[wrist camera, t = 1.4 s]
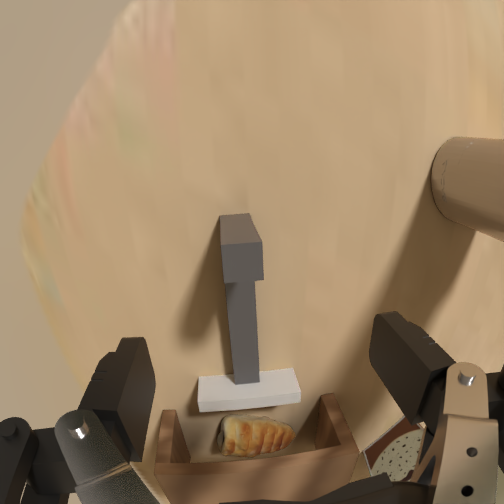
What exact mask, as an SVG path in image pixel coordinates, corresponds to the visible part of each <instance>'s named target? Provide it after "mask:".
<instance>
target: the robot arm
mask: <svg viewBox="0 0 504 504" xmlns="http://www.w3.org/2000/svg"><path fill="white" fill-rule="evenodd" d="M431 185H432V192H433V197H434V200H435V202H436V205H437V207H438V208H439V210H440V212H441V213H442V214H443V215H444V216H445V217H446V218H448V219H450V220H452V221H454V222H457V223H459V224H462V225H464V226H467V227H469V228H472V229H474V230H476V231H479V232H481V233H484V234H486V235H489V236H491V237H493V238H496V239H498V240H500V241H503V242H504V140H502V139H488V138H473V137H456V138H452V139H450V140H448V141H447V142H446V143H445V144H443V145H442V147H441V148H440V150H439V151H438V153H437V155H436V157H435V159H434V163H433V167H432V175H431ZM369 358H370V362H371V365H372V367H373V368H374V370H375V371H376V373H377V374H378V376H379V377H380V379H381V380H382V382H383V383H384V385H385V386H386V388H387V389H388V391H389V392H390V394H391V395H392V397H393V398H394V400H395V401H396V403H397V404H398V406H399V407H400V409H401V411H402V412H403V414H404V415H405V417H406V418H407V420H408V421H409V423H410V424H411V426H412V425H415V424H417V423H420V422H423V421H424V423H425V424H426V426H425V428H424V431H423V435H422V439H421V444H420V448H419V452H418V456H417V460H416V464H415V468H414V471H413V474H412V477H411V479H410V481H391V480H390V478H389V476H388V474H387V472H385V473H382V474H379V475H376V476H372V477H369V478H366V479H362V480H359V481H355V482H351V483H348V484H346V485H344V486H342V487H340V488H338V489H336V490H334V491H332V492H330V493H328V494H326V495H323V496H321V497H319V498H317V499H314V500H312V501H280V500H265V499H261V500H251V501H239V502H224V503H219V504H495V501H496V491H497V478H498V465H499V467H500V468H501V470H502V471H503V473H504V365H503V367H502V370H501V372H496V373H487V374H485V372H484V371H483V370H482V369H481V368H480V367H478V366H477V365H474V364H472V363H467V362H459V363H456V362H455V361H454V360H453V359H452V358H451V357H450V356H449V355H448V354H447V353H446V352H445V351H444V350H443V349H442V348H441V347H440V346H439V345H438V344H437V343H435V341H434V340H433V339H432V338H431V337H429V335H428V334H427V333H426V332H425V331H424V330H423V329H422V328H421V327H419V326H417V325H415V324H413V323H411V322H407V321H406V320H405V319H404V318H403V317H402V316H401V315H400V314H399V313H398V312H396V311H393V312H387V313H381V314H377V315H376V316H375V318H374V322H373V329H372V336H371V342H370V348H369ZM155 386H156V382H155V374H154V370H153V366H152V363H151V359H150V355H149V351H148V347H147V344H146V340H145V339H144V337H129V338H122V339H121V341H120V343H119V345H118V347H117V350H116V352H109V353H108V354H107V355H105V356H104V357H103V358H102V359H101V360H100V361H99V363H98V365H97V367H96V369H95V373H94V374H93V376H92V378H91V381H90V382H89V385H88V387H87V389H86V391H85V393H84V396H83V398H82V400H81V402H80V405H79V407H78V409H77V410H74V411H70V412H68V413H66V414H64V415H63V416H62V417H60V418H59V420H58V421H57V423H56V425H55V427H53V428H46V429H37V430H32V429H31V427H30V426H29V424H28V423H27V422H26V421H25V420H24V419H22V418H19V417H12V418H8V419H5V420H3V421H2V422H0V504H68V498H69V494H70V493H77V495H78V497H79V499H80V501H81V503H82V504H160V503H159V502H158V501H157V499H156V498H155V497H154V496H153V494H152V493H151V492H150V491H149V489H148V488H147V487H146V485H145V484H144V483H143V481H142V480H141V479H140V477H139V476H138V475H137V473H136V472H135V471H134V469H133V468H132V467H131V465H130V464H129V463H130V461H133V462H142V457H143V451H144V445H145V440H146V434H147V429H148V423H149V418H150V413H151V408H152V403H153V398H154V393H155ZM25 483H27V484H26V487H25V490H24V493H23V497H22V500H21V503H20V499H21V495H22V492H23V489H24V486H25Z"/></svg>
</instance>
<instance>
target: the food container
mask: <svg viewBox="0 0 504 504" xmlns="http://www.w3.org/2000/svg"><path fill="white" fill-rule="evenodd" d="M423 431H424V428H423V427H422V426H421V425H420V424H419V423H417V424H415V425H412V426H411V424H410V423H409V421H408V420H407V418H406V417H405V415H404V416H403V417H402V418H401V419H400V420H399V421H398V422H396V423H395V424H394V425H393V426H392V427H391V428H390V429H388V430H387V431H386V432H385V433H384V434H383V435H381V436H380V437H379V438H378V439H377V440H375V441H374V442H373V443H372V444H370V445H369V446H368V447H367V448H365V449H364V450H363V454H364V457H365V460H366V463H367V466H368V469H369V472H370V476H371V477H372V476H376V475H379V474H382V473H385V472H387V474H388V476H389V478H390V480H391V481H410V479H411V477H412V474H413V471H414V468H415V464H416V460H417V456H418V452H419V448H420V444H421V439H422V435H423Z"/></svg>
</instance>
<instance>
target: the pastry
mask: <svg viewBox="0 0 504 504" xmlns="http://www.w3.org/2000/svg"><path fill="white" fill-rule="evenodd" d="M295 436H296V434H295V432H294V431H293V430H292V428H291V427H290V426H289V425H287V424H285V423H281V422H277V421H275V420H272V419H270V418H268V417H265V416H263V417H259V416H250V415H242V414H230V415H226V416H225V418H224V419H223V420H222V422H221V432H220V434H219V435H218V439H217V444H218V446H219V450H220V452H221V454H223V455H224V456H227V455H233V456H239V457H254V456H256V455H260V454H264V453H273V452H275V451H278V450H281V449H284V448H286V447H287V446H288V445H289V444H290V443H291V441H292V440H293V439H294V438H295Z"/></svg>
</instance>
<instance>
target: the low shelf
mask: <svg viewBox="0 0 504 504" xmlns="http://www.w3.org/2000/svg"><path fill="white" fill-rule="evenodd" d="M315 446H316V449H317V450H315V451H309V452H304V453H298V454H292V455H285V456H278V457H271V458H262V459H253V460H243V461H230V462H213V463H190V458H191V457H190V454H189V451H188V448H187V445H186V442H185V439H184V436H183V433H182V429H181V426H180V423H179V420H178V417H177V413H176V410H163V413H162V420H161V426H160V433H159V440H158V447H157V454H156V462H155V470H154V475H155V477H156V479H157V481H158V483H159V484H160V486H161V488H162V490H163V491H164V493H165V495H166V497H167V498H168V500H169V502H170V503H171V504H219V503H224V502H239V501H251V500H261V499H265V500H280V501H312V500H314V499H317V498H319V497H321V496H323V495H326V494H328V493H330V492H332V491H334V490H336V489H338V488H340V487H342V486H344V485H346V484H348V483H349V481H350V479H351V476H352V473H353V470H354V467H355V464H356V462H357V459H358V456H359V453H360V451H359V449H358V447H357V445H356V443H355V440H354V438H353V436H352V434H351V432H350V429H349V427H348V425H347V423H346V420H345V418H344V416H343V414H342V412H341V410H340V407H339V405H338V403H337V401H336V399H335V396H334V394H333V393H331V394H326V395H321V400H320V408H319V417H318V424H317V432H316V439H315Z"/></svg>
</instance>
